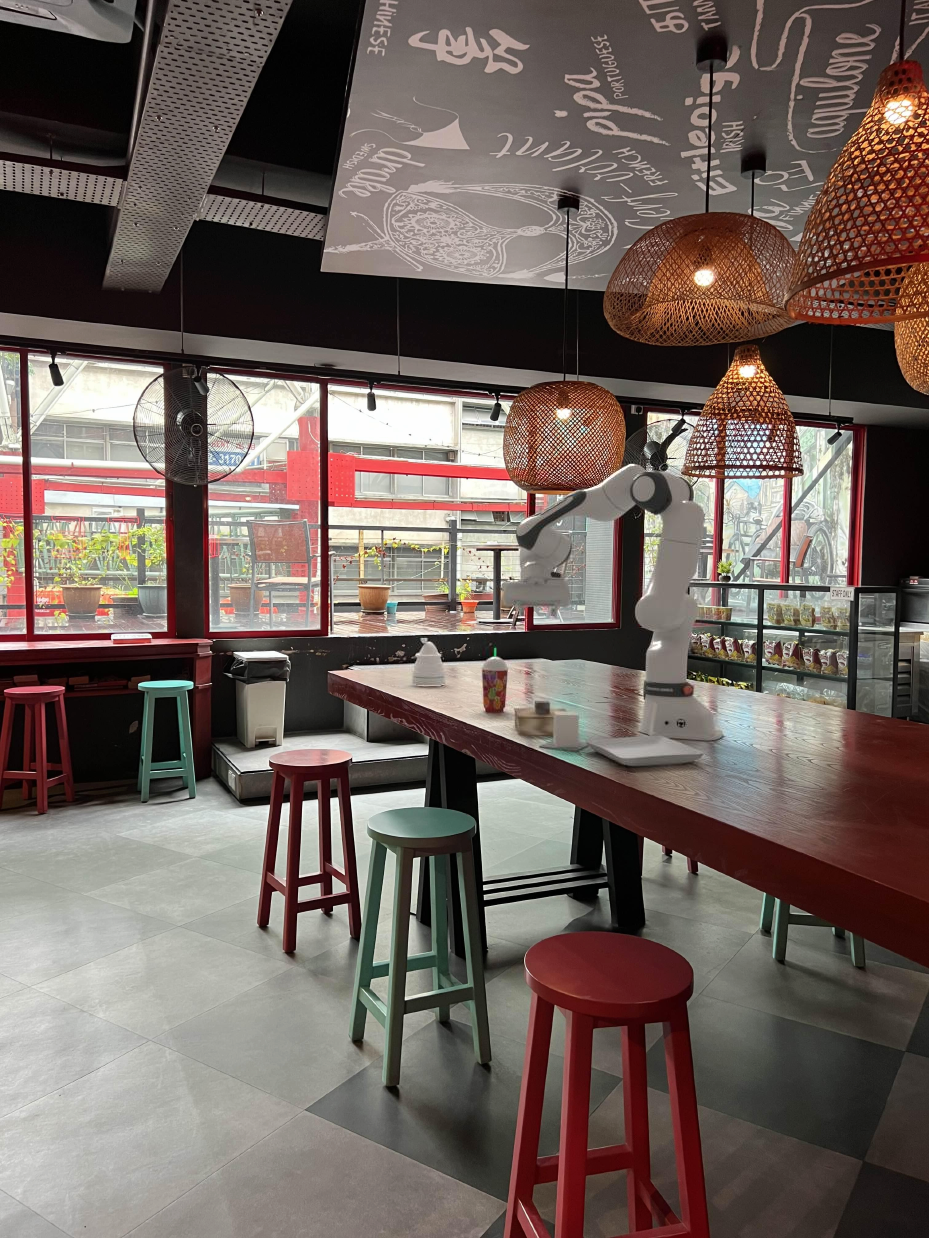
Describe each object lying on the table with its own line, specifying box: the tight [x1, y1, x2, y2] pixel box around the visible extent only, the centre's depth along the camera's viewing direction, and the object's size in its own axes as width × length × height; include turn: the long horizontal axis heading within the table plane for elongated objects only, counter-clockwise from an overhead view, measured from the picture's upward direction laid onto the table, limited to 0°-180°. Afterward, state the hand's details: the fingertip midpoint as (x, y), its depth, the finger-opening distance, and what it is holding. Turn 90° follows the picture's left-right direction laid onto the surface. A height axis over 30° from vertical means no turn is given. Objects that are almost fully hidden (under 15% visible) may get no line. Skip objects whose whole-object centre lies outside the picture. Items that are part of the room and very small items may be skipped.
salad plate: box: [585, 735, 705, 767], centre depth 204 cm, size 21×21×3 cm
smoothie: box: [481, 647, 509, 714], centre depth 270 cm, size 8×8×20 cm
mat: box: [538, 739, 589, 753], centre depth 217 cm, size 10×10×1 cm
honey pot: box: [411, 637, 446, 685], centre depth 333 cm, size 13×13×18 cm
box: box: [513, 700, 567, 736], centre depth 238 cm, size 14×14×8 cm
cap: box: [552, 710, 580, 747], centre depth 216 cm, size 6×6×8 cm
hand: (538, 614), depth 252 cm, fingers open, 8 cm apart
